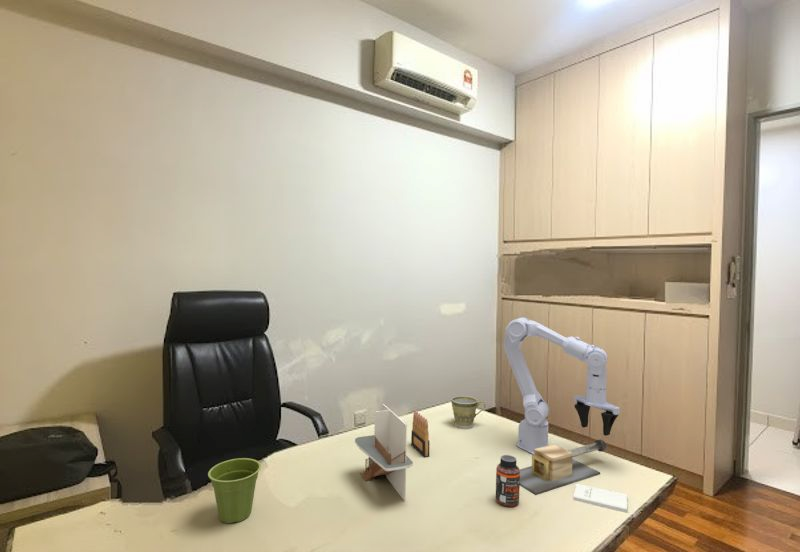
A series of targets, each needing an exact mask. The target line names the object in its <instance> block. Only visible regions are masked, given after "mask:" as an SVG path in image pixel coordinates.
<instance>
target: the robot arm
mask: <svg viewBox="0 0 800 552" xmlns="http://www.w3.org/2000/svg"><path fill="white" fill-rule="evenodd" d="M504 332H505V333H504V341H503V344H502V345H503V349H504V350H503V351H504V353H505V355H506V357H507V360H508V363H509V365H510V367H511V371H512V373H513V375H514V378H515V381H516V383H517V385H518V388H519V390H520V393H521V395H522V404H523V405H522V406H523V408H524V419H522V420H521V421H520V422H519V424H518V429H517V430H518V433H517V434H518V437H517V439H518V440H517V443H516V445H515V446H517V447H518V448H520V449H522V450H524V451H526V452H528V453H529V454H531V455H533V454H534V449H537V448H541V447H545V446H549V421H548V419H547V417H548V416H549V414H550V406H549V405H548V403H547V402H546V401H545V400H544V399H543V397H542V395H541V394H540V393H539V392H538V390H537V387H536V384H535V382H534V378H533V377H532V375H531V372H530V369H529V367H528V364H527V362H526V359H525V357H524V355H523V352H522V349H521V345H522V344H523V342H524V339H525V338H526V337H530V338H531V337H540V338H541V339H544V340H547V341H549V342H551V343H553V344H555V345H557V346H559V347H561V348H562V352H563V353H565V354H567V355H569V356H571V357H573V358H575V359H577V360H579V361H581V362H585V363H586V365H587V371H586V386H585V388H586V389H585V390H586V392H585V396H583V395H579V394H578V395H574V396H573V402H574V403H575V404H574V409H575V410H576V412H577V414H578V418H579V420H580V425H581V428H587V427H589V415H590V409H591V407H593V408H595V409H599V410H602V411H604V412H600V415H601V419H602V426H603V427H602V432H603V436H606V437H607V436H611V430H612V427H613V426H614V423H615V421H616V419H617V417H618V416H619V415H620V413H621V407H619V406H616V405H614V404H612V403H609V402H607V379H608V377H607V376H608V374H607V370H608V369H607V363H608V357H609V356H608V354H607V352H606V351H605V350H604V349H602V348H601V347H599V346H598V347H597V346H595V345H594V344H589V343H587V342H584V341H582V340H580V339H581V337H579V336H568V337H565V336H564V335H562V334H560V333H558V332H556V331H554V330H553V329H551V328H549V327H547V326H545V325H543V324H542V323H539V322H537V321H535V320H533V319H529V318H527V317H524V316H523V317H522V316H521V317H518V318H516V319H513V320H511V321H510V322H509V323H508V324H507V325H506V327H505V329H504Z"/></svg>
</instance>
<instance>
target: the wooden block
mask: <svg viewBox="0 0 800 552" xmlns="http://www.w3.org/2000/svg"><path fill="white" fill-rule="evenodd" d="M538 461H539V462H541V463H543V464H544V473H542V472H541V471H539V470H538ZM531 466H532V474H534V475H536V476H538V477H539V478H541V479H543V480H545V481H548V480H550V460H548V459H546V458H544V457H542V456H540V455H538V454H531Z"/></svg>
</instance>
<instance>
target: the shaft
mask: <svg viewBox="0 0 800 552" xmlns="http://www.w3.org/2000/svg"><path fill="white" fill-rule="evenodd" d="M606 450H607V443H606V442H605V441H604V440H603V439H596V440H595V441H594V443H590V444H587V445H584V446H583V445H582V446H579V447H575V448H571V449H568V450H567V451H569V452H571V453H572V458H575V457H579V456H582V455H585V454H589V453H593V452H596V451H598V452H599V453H600V452H604V451H606ZM544 458H545V457H544ZM546 459H547V458H546Z"/></svg>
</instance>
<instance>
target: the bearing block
mask: <svg viewBox="0 0 800 552" xmlns="http://www.w3.org/2000/svg"><path fill="white" fill-rule="evenodd" d="M534 454H538V455H540V456H542V457H545V458H547V459H548V460H550V480H548V481H545V480H543V479H541V478H539V477H538V476H536V475H534V474H532V465H531V466H527V467H524V468H521V469H520V468H519V469H520V487H522V488H524V489H525V490H527V491H529V492H530V493H532V494H533V495H535V496H537V495H540V494H543V493H546V492H549V491H552V490H556V489H559V488H561V487H565V486H567V485H570V484H573V483H577V482H580V481H583V480H586V479H589V478H591V477H595V476H598V475H600V474H601V471H599V470H596V469H594V468H593V467H590V466H588V465H586V464H585V463H582V462H580V461H578V460H575V459H574V458H573V457H572V453H571V452H569V451H568V450H567V449H564V448H562V447H560V446H558V445H556V444H548V446H545V447H541V448H537V449H534ZM538 470H539V471H541V472H542V473H544V464H543V463H541V462H539V461H538Z"/></svg>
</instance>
